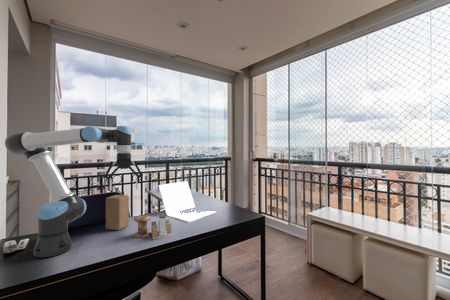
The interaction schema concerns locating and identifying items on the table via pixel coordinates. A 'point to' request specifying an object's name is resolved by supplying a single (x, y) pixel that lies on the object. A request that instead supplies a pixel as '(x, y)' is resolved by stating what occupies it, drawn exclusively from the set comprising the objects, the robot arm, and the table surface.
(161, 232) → the tab
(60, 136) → the robot arm
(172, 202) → the laptop
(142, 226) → the spool
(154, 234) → the tan base with posts
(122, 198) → the wooden block
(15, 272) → the table surface
